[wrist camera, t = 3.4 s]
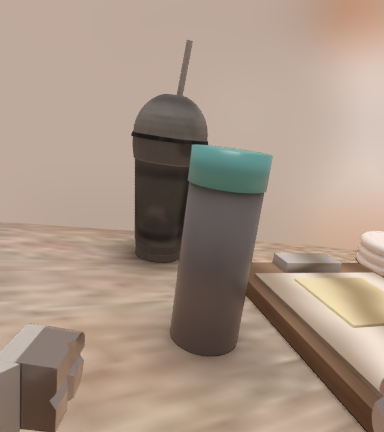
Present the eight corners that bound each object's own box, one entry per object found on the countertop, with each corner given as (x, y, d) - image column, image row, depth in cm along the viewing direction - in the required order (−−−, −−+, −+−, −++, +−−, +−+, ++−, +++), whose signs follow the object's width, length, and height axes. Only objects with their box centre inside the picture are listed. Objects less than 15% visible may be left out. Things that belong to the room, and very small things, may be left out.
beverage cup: (165, 238, 41) (186, 53, 36) (207, 260, 35) (239, 48, 30) (108, 246, 36) (123, 34, 31) (147, 273, 31) (173, 24, 26)
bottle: (178, 360, 20) (207, 150, 17) (162, 316, 24) (182, 142, 21) (250, 353, 21) (288, 159, 18) (223, 314, 26) (250, 150, 23)
